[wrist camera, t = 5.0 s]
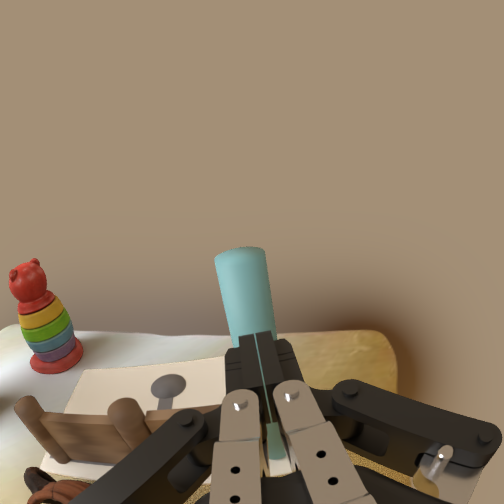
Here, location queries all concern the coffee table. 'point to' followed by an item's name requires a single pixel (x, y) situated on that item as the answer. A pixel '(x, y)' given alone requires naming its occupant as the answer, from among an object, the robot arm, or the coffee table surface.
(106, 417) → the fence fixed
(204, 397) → the card
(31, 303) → the stacking bear
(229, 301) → the l-shaped post
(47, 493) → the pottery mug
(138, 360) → the coffee table surface
